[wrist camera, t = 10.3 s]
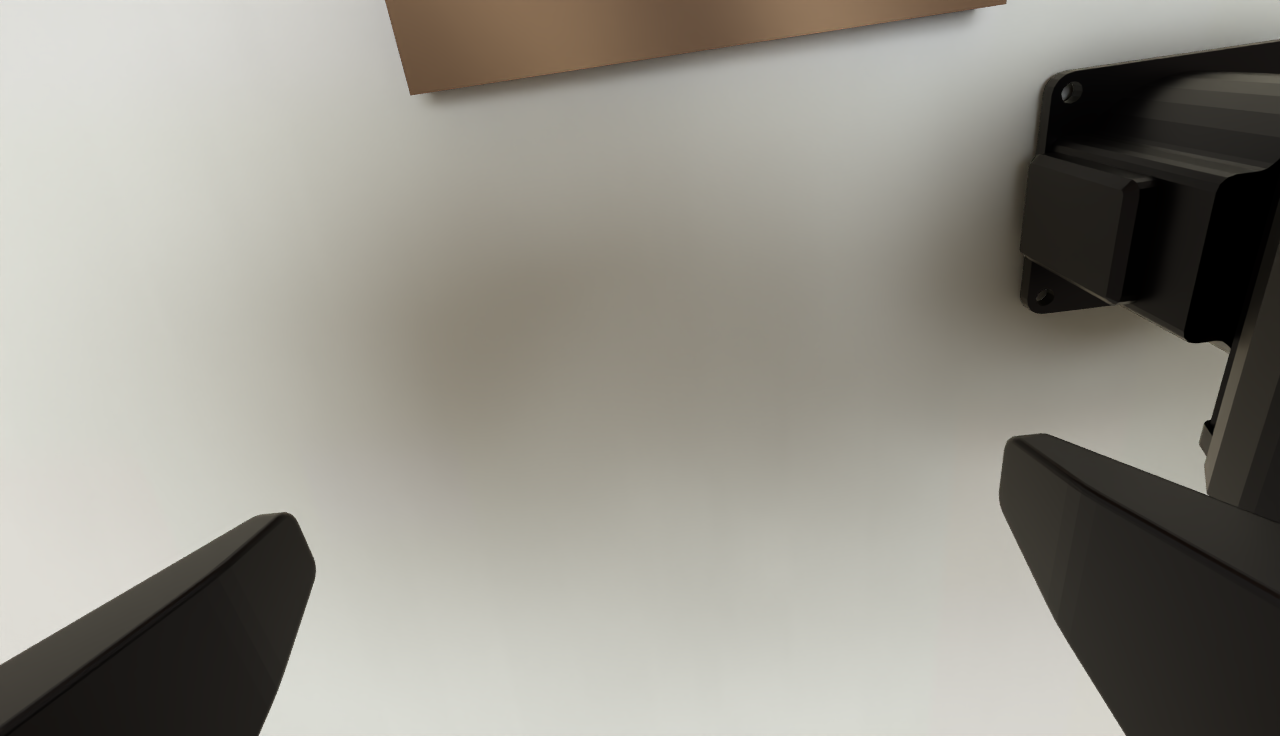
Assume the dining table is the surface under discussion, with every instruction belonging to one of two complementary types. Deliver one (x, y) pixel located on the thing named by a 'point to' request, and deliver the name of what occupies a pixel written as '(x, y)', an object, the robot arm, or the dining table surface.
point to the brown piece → (608, 31)
